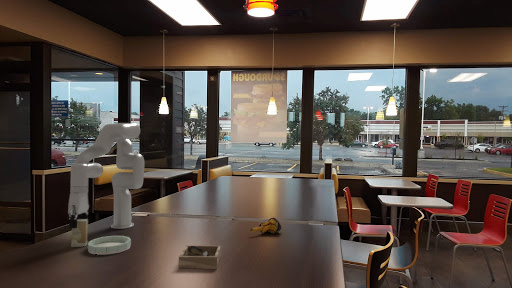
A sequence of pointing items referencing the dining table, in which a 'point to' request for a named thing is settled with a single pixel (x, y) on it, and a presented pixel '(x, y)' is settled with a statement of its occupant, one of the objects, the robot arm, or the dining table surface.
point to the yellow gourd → (268, 227)
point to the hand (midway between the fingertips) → (78, 225)
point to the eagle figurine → (198, 251)
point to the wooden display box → (200, 258)
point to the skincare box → (80, 233)
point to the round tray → (109, 245)
